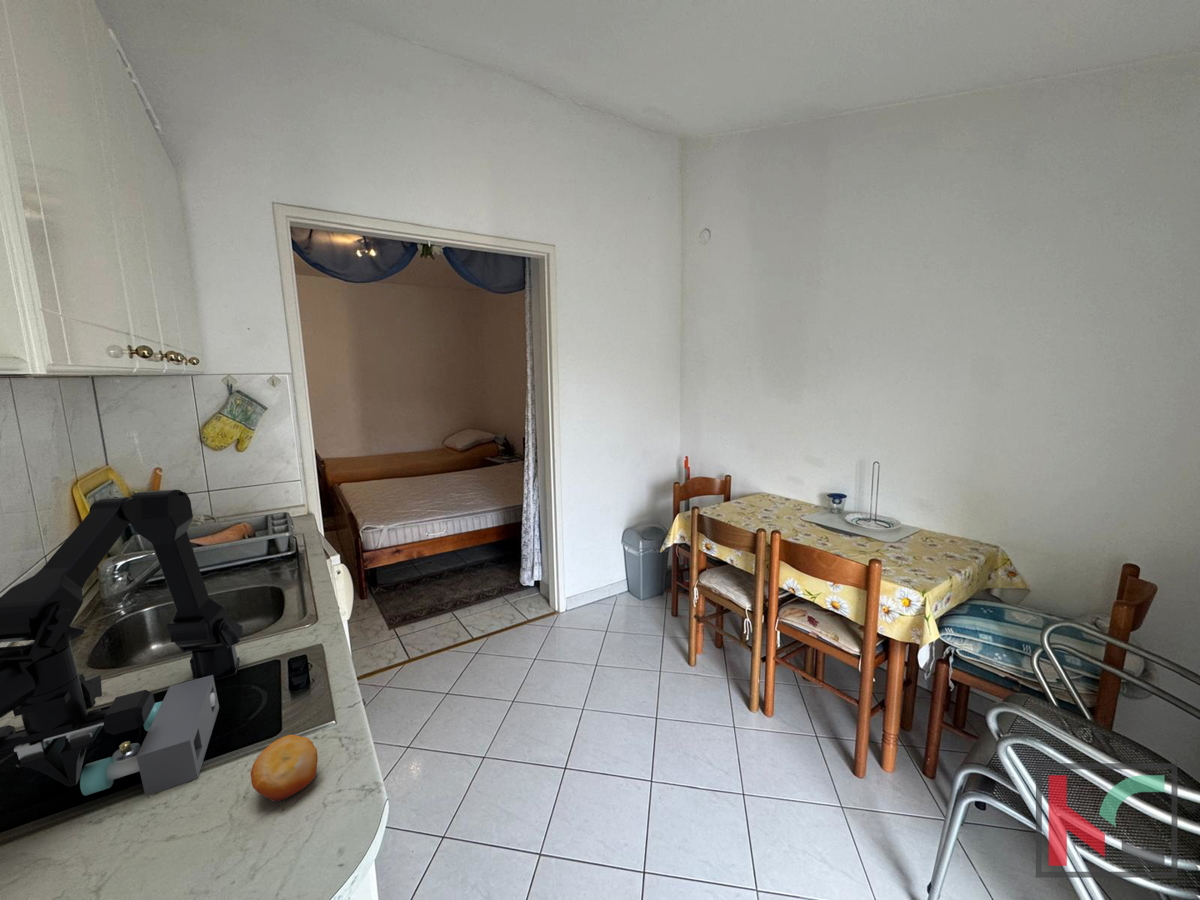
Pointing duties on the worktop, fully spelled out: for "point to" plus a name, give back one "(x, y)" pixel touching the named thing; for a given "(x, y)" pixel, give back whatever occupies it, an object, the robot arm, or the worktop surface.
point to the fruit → (284, 767)
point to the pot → (126, 751)
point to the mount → (178, 736)
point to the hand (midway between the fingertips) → (74, 783)
